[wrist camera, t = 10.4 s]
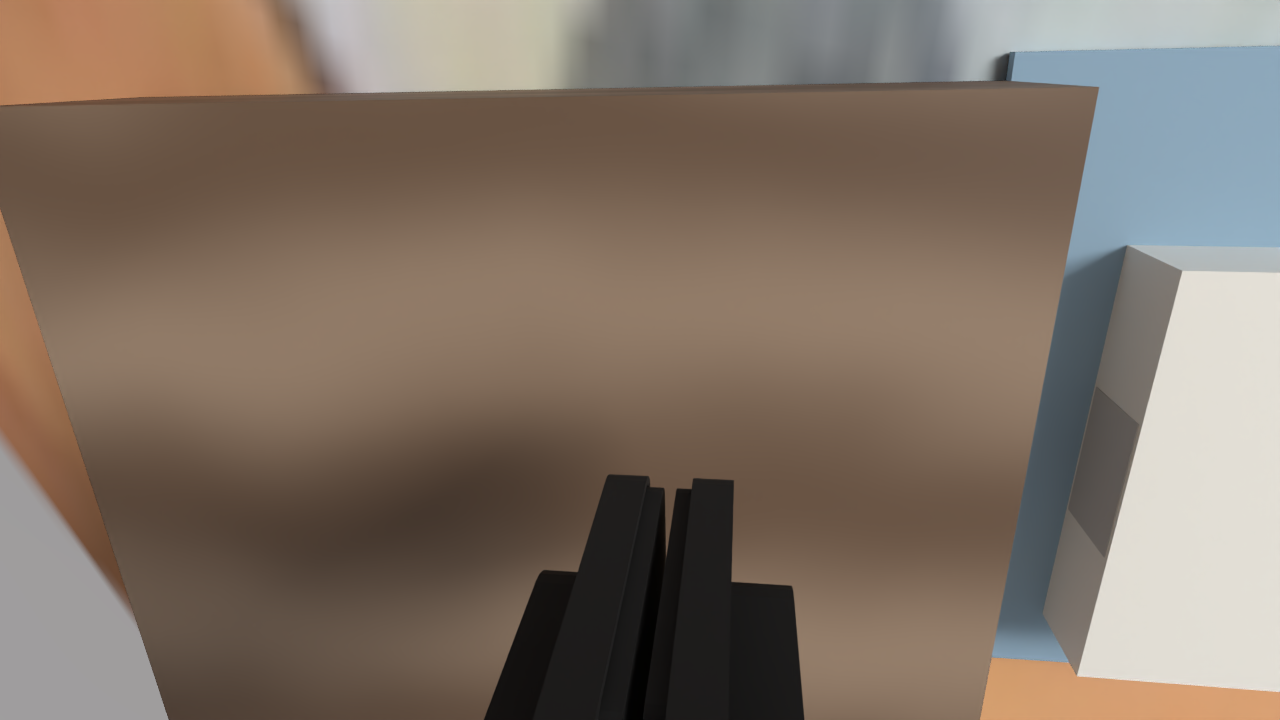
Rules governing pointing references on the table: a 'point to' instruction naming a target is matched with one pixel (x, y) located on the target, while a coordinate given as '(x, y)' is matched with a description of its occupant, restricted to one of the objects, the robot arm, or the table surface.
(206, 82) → the table surface
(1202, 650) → the off-white flat slab
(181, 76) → the table surface
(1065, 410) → the mat
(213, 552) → the brown wooden block
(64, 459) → the table surface
